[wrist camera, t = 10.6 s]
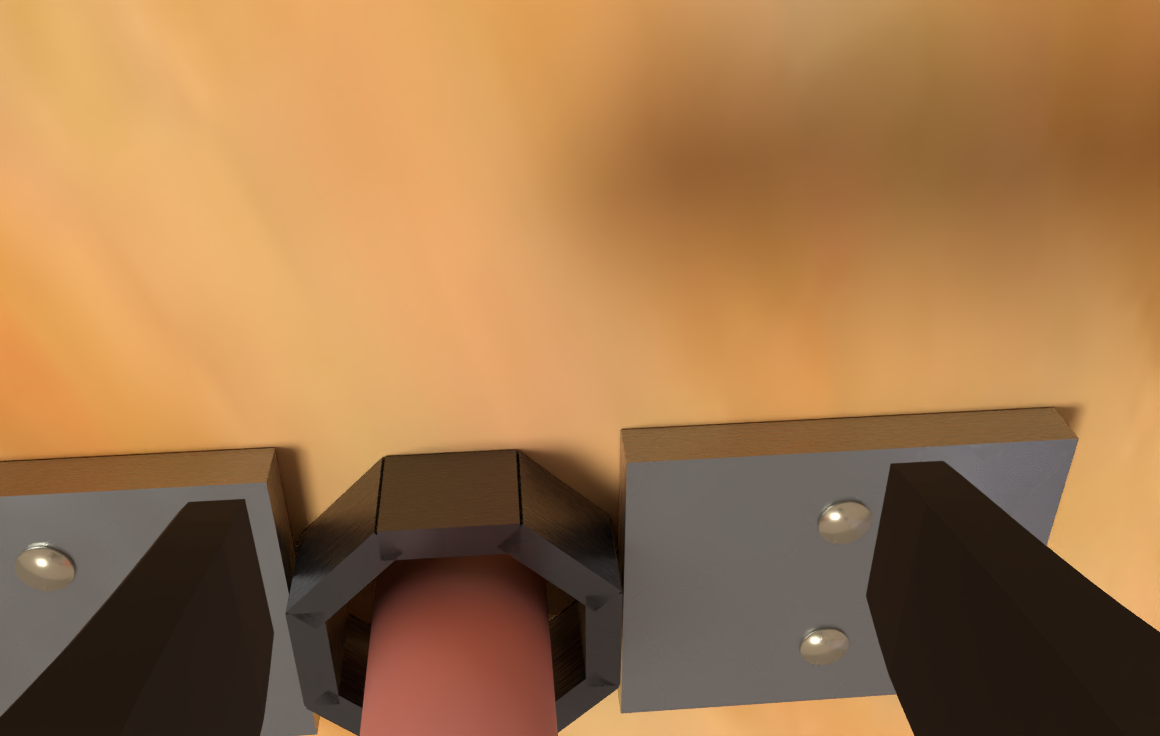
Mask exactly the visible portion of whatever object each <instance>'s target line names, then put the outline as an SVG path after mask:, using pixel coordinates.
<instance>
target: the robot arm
mask: <svg viewBox="0 0 1160 736" xmlns="http://www.w3.org/2000/svg"><path fill="white" fill-rule="evenodd" d="M866 598H867V602H868V605H869V609H870V613H871V616H872V620H873V624H874V627H875V631H876V635H877V638H878V642H879V645H880V648H881V651H882V655H883V658H884V661H885V665H886V668H887V671H888V674H889V677H890V680H891V682H892V684H893V687H894V689H895V692H896V694H897V696H898V699H899V701H900V703H901V706H902V708H903V710H904V713H905V715H906V717H907V719H908V722H909V724H910V726H911V729H912V731H913V733H914V736H1160V632H1159V631H1157V630H1156V629H1155V628H1153V627H1152V626H1150V625H1149V624H1148V623H1146V622H1145V621H1143V620H1142V619H1141V618H1139V617H1138V616H1136V615H1135V614H1134V613H1132V612H1131V611H1129V610H1128V609H1127V608H1125V607H1124V606H1123V605H1121V604H1120V603H1119V602H1117V601H1116V600H1115V599H1113V598H1112V597H1111V596H1109V595H1108V594H1107V593H1105V592H1104V591H1103V590H1101V589H1100V588H1099V587H1097V586H1096V585H1095V584H1094V583H1092V582H1091V581H1090V580H1088V579H1087V578H1086V577H1085V576H1083V575H1082V574H1081V573H1080V572H1078V571H1077V570H1076V569H1074V568H1073V567H1072V566H1071V565H1069V564H1068V563H1067V562H1066V561H1064V560H1063V559H1062V558H1061V557H1059V556H1058V555H1057V554H1056V553H1054V552H1053V551H1052V550H1051V549H1050V548H1048V547H1047V546H1046V545H1045V544H1044V543H1042V542H1041V541H1040V540H1039V539H1037V538H1036V537H1035V536H1034V535H1033V534H1031V533H1030V532H1029V531H1028V530H1027V529H1025V528H1024V527H1023V526H1022V525H1021V524H1019V523H1018V522H1017V521H1016V520H1015V519H1013V518H1012V517H1011V516H1010V515H1009V514H1007V513H1006V512H1005V511H1004V510H1003V509H1001V508H1000V507H999V506H998V505H997V504H996V503H994V502H993V501H992V500H991V499H990V498H988V497H987V496H986V495H985V494H984V493H982V492H981V491H980V490H979V489H978V488H976V487H975V486H974V485H973V484H972V483H970V482H969V481H968V480H967V479H966V478H964V477H963V476H962V475H961V474H960V473H958V472H957V471H956V470H955V469H953V468H952V467H951V466H949V465H948V464H947V463H946V462H944V461H927V462H909V463H891V464H890V470H889V475H888V480H887V485H886V491H885V496H884V501H883V507H882V512H881V517H880V523H879V528H878V533H877V539H876V544H875V549H874V555H873V560H872V565H871V570H870V576H869V581H868V586H867V592H866ZM273 639H274V630H273V625H272V620H271V616H270V611H269V607H268V602H267V598H266V593H265V588H264V584H263V579H262V575H261V570H260V565H259V561H258V556H257V552H256V547H255V543H254V538H253V533H252V529H251V524H250V520H249V515H248V510H247V506H246V501H245V499H232V500H214V501H196V502H188V503H187V504H186V505H185V506H184V507H183V508H182V509H181V510H180V511H179V512H178V513H177V515H176V516H175V517H174V518H173V519H172V521H171V522H170V523H169V524H168V526H167V527H166V528H165V529H164V531H163V532H162V533H161V534H160V536H159V537H158V538H157V539H156V541H155V542H154V543H153V544H152V546H151V547H150V548H149V549H148V551H147V552H146V553H145V554H144V555H143V557H142V558H141V559H140V560H139V562H138V563H137V564H136V565H135V567H134V568H133V569H132V570H131V571H130V573H129V574H128V575H127V576H126V578H125V579H124V580H123V581H122V582H121V584H120V585H119V586H118V587H117V588H116V590H115V591H114V592H113V593H112V594H111V596H110V597H109V598H108V599H107V600H106V601H105V603H104V604H103V605H102V606H101V607H100V608H99V610H98V611H97V612H96V613H95V614H94V615H93V616H92V618H91V619H90V620H89V621H88V622H87V623H86V625H85V626H84V627H83V628H82V629H81V630H80V632H79V633H78V634H77V635H76V636H75V637H74V638H73V640H72V641H71V642H70V643H69V644H68V645H67V646H66V648H65V649H64V650H63V651H62V652H61V653H60V654H59V655H58V656H57V657H56V659H55V660H54V661H53V662H52V663H51V664H50V665H49V666H48V667H47V668H46V669H45V670H44V671H43V672H42V673H41V674H40V675H39V676H38V677H37V679H36V680H35V681H34V682H33V683H32V684H31V685H30V686H29V687H28V688H27V689H26V690H25V691H24V692H23V693H22V694H21V695H20V696H19V697H18V699H17V700H16V701H15V702H14V703H13V704H12V705H11V706H10V707H9V708H8V709H7V710H6V711H5V712H4V713H3V714H2V715H1V716H0V736H260V734H261V730H262V725H263V721H264V716H265V708H266V700H267V692H268V684H269V676H270V667H271V657H272V648H273Z"/></svg>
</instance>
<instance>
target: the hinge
mask: <svg viewBox="0 0 1160 736" xmlns="http://www.w3.org/2000/svg"><path fill="white" fill-rule="evenodd" d="M1077 442H1078V437H1077V436H1076V435H1075V433H1074V432H1073V431H1072V430H1071V428H1070V427H1069V426H1068V424H1067V423H1066V422H1065V421H1064V419H1063V418H1062V417H1061V415H1060V414H1059V413H1058V412H1057V410H1056V409H1055V408H1037V409H1017V410H998V411H979V412H959V413H940V414H921V415H901V416H882V417H863V418H843V419H824V420H805V421H785V422H766V423H747V424H727V425H708V426H689V427H669V428H650V429H631V430H621V436H620V486H619V536H618V562H617V556H616V550H615V543H614V537H613V531H612V525H611V519H610V517H609V515H607V514H606V513H605V512H603V511H602V510H600V509H599V508H598V507H596V506H595V505H594V504H592V503H591V502H589V501H588V500H587V499H585V498H584V497H582V496H581V495H580V494H578V493H577V492H576V491H574V490H573V489H571V488H570V487H569V486H567V485H566V484H564V483H563V482H562V481H560V480H559V479H557V478H556V477H555V476H553V475H552V474H551V473H549V472H548V471H546V470H545V469H544V468H542V467H541V466H539V465H538V464H537V463H535V462H534V461H533V460H531V459H530V458H528V457H527V456H526V455H524V454H523V453H521V452H520V451H518V452H517V453H516V450H505V451H486V452H467V453H448V454H429V455H410V456H391V457H385V460H384V459H383V458H382V459H380V460H379V461H378V462H377V463H376V464H375V465H374V466H373V467H372V468H371V469H370V470H369V471H368V472H367V473H366V474H364V475H363V476H362V477H361V478H360V479H359V480H358V481H357V482H356V483H355V484H354V485H353V486H352V487H351V488H349V489H348V490H347V491H346V492H345V493H344V494H343V495H342V496H341V497H340V498H339V499H338V500H337V501H336V502H335V503H333V504H332V505H331V506H330V507H329V508H328V509H327V510H326V511H325V512H324V513H323V514H322V515H321V516H320V517H318V518H317V519H316V520H315V521H314V522H313V523H312V524H311V525H310V526H309V527H308V528H307V529H306V530H305V531H304V532H302V533H301V537H300V542H299V547H298V552H297V557H296V555H295V550H294V544H293V539H292V534H291V529H290V524H289V519H288V513H287V508H286V503H285V498H284V493H283V487H282V482H281V477H280V472H279V467H278V462H277V456H276V451H275V448H264V449H244V450H225V451H206V452H186V453H167V454H148V455H128V456H109V457H90V458H70V459H51V460H32V461H12V462H0V716H1V715H2V714H3V713H4V712H5V711H6V710H7V709H8V708H9V707H10V706H11V705H12V704H13V703H14V702H15V701H16V700H17V699H18V697H19V696H20V695H21V694H22V693H23V692H24V691H25V690H26V689H27V688H28V687H29V686H30V685H31V684H32V683H33V682H34V681H35V680H36V679H37V677H38V676H39V675H40V674H41V673H42V672H43V671H44V670H45V669H46V668H47V667H48V666H49V665H50V664H51V663H52V662H53V661H54V660H55V659H56V657H57V656H58V655H59V654H60V653H61V652H62V651H63V650H64V649H65V648H66V646H67V645H68V644H69V643H70V642H71V641H72V640H73V638H74V637H75V636H76V635H77V634H78V633H79V632H80V630H81V629H82V628H83V627H84V626H85V625H86V623H87V622H88V621H89V620H90V619H91V618H92V616H93V615H94V614H95V613H96V612H97V611H98V610H99V608H100V607H101V606H102V605H103V604H104V603H105V601H106V600H107V599H108V598H109V597H110V596H111V594H112V593H113V592H114V591H115V590H116V588H117V587H118V586H119V585H120V584H121V582H122V581H123V580H124V579H125V578H126V576H127V575H128V574H129V573H130V571H131V570H132V569H133V568H134V567H135V565H136V564H137V563H138V562H139V560H140V559H141V558H142V557H143V555H144V554H145V553H146V552H147V551H148V549H149V548H150V547H151V546H152V544H153V543H154V542H155V541H156V539H157V538H158V537H159V536H160V534H161V533H162V532H163V531H164V529H165V528H166V527H167V526H168V524H169V523H170V522H171V521H172V519H173V518H174V517H175V516H176V515H177V513H178V512H179V511H180V510H181V509H182V508H183V507H184V506H185V505H186V504H187V503H188V502H196V501H214V500H232V499H245V501H246V506H247V510H248V515H249V520H250V524H251V529H252V533H253V538H254V543H255V547H256V552H257V556H258V561H259V565H260V570H261V575H262V579H263V584H264V588H265V593H266V598H267V602H268V607H269V611H270V616H271V620H272V625H273V630H274V639H273V648H272V657H271V667H270V676H269V684H268V692H267V700H266V708H265V716H264V721H263V725H262V730H261V734H260V736H300V735H314V734H317V733H318V726H319V719H320V716H321V717H323V718H325V719H327V720H329V721H331V722H333V723H335V724H337V725H339V726H340V727H342V728H344V729H346V730H348V731H350V732H352V733H354V734H356V735H358V736H360V728H361V719H362V709H363V700H364V690H365V681H366V671H367V662H368V652H369V643H370V633H371V627H369V626H368V625H366V624H364V623H362V622H361V621H359V620H357V619H356V618H354V617H352V616H350V615H349V612H348V606H347V602H348V601H349V600H351V599H352V598H353V597H354V596H355V595H356V594H357V593H358V592H360V591H361V590H362V589H363V588H364V587H365V586H366V585H368V584H369V583H370V582H371V581H372V580H373V579H374V578H375V577H377V576H378V575H379V574H380V573H381V572H382V571H383V570H385V569H386V568H387V567H388V566H389V565H390V564H391V563H393V562H394V561H395V560H408V559H425V558H442V557H459V556H475V555H492V554H509V555H510V556H512V557H513V558H515V559H516V560H518V561H519V562H521V563H522V564H524V565H525V566H527V567H528V568H530V569H531V570H533V571H534V572H536V573H537V574H539V575H540V576H542V577H543V578H545V579H546V580H548V581H549V582H551V583H552V584H554V585H555V586H557V587H558V588H560V589H561V590H563V591H564V592H566V593H567V594H569V595H570V596H572V597H574V598H575V599H577V601H576V602H575V603H573V604H572V605H571V606H570V607H568V608H567V609H566V610H565V611H563V612H562V613H561V614H560V615H558V616H557V617H556V618H555V619H553V620H552V621H551V622H550V623H549V628H550V641H551V654H552V667H553V679H554V692H555V705H556V717H557V730H558V732H560V731H561V730H562V729H564V728H565V727H566V726H568V725H569V724H570V723H572V722H573V721H575V720H576V719H577V718H579V717H580V716H581V715H583V714H584V713H585V712H587V711H588V710H589V709H591V708H592V707H593V706H595V705H596V704H597V703H599V702H600V701H601V700H603V699H604V698H605V697H607V696H608V695H610V694H611V693H612V692H614V691H615V690H616V689H618V696H619V704H620V711H621V713H633V712H648V711H662V710H677V709H691V708H706V707H720V706H735V705H749V704H764V703H778V702H793V701H807V700H822V699H836V698H850V697H865V696H879V695H894V694H896V692H895V689H894V687H893V684H892V682H891V680H890V677H889V674H888V671H887V668H886V665H885V661H884V658H883V655H882V651H881V648H880V645H879V642H878V638H877V635H876V631H875V627H874V624H873V620H872V616H871V613H870V609H869V605H868V602H867V598H866V592H867V586H868V581H869V576H870V570H871V565H872V560H873V555H874V549H875V544H876V539H877V533H878V528H879V523H880V517H881V512H882V507H883V501H884V496H885V491H886V485H887V480H888V475H889V470H890V464H891V463H909V462H927V461H944V462H946V463H947V464H948V465H949V466H951V467H952V468H953V469H955V470H956V471H957V472H958V473H960V474H961V475H962V476H963V477H964V478H966V479H967V480H968V481H969V482H970V483H972V484H973V485H974V486H975V487H976V488H978V489H979V490H980V491H981V492H982V493H984V494H985V495H986V496H987V497H988V498H990V499H991V500H992V501H993V502H994V503H996V504H997V505H998V506H999V507H1000V508H1001V509H1003V510H1004V511H1005V512H1006V513H1007V514H1009V515H1010V516H1011V517H1012V518H1013V519H1015V520H1016V521H1017V522H1018V523H1019V524H1021V525H1022V526H1023V527H1024V528H1025V529H1027V530H1028V531H1029V532H1030V533H1031V534H1033V535H1034V536H1035V537H1036V538H1037V539H1039V540H1040V541H1041V542H1042V543H1044V544H1045V545H1047V542H1048V539H1049V535H1050V532H1051V529H1052V525H1053V522H1054V519H1055V515H1056V512H1057V509H1058V505H1059V502H1060V499H1061V495H1062V492H1063V489H1064V485H1065V482H1066V479H1067V475H1068V472H1069V469H1070V465H1071V462H1072V459H1073V455H1074V452H1075V449H1076V445H1077Z"/></svg>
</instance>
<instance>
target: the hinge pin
mask: <svg viewBox="0 0 1160 736" xmlns="http://www.w3.org/2000/svg"><path fill="white" fill-rule="evenodd" d="M360 736H558V730H557V717H556V705H555V692H554V679H553V667H552V654H551V641H550V628H549V616H548V603H547V590H546V579H545V578H543V577H542V576H540V575H539V574H537V573H536V572H534V571H533V570H531V569H530V568H528V567H527V566H525V565H524V564H522V563H521V562H519V561H518V560H516V559H515V558H513V557H512V556H510V555H509V554H492V555H475V556H459V557H442V558H425V559H408V560H395V561H394V562H393V563H391V564H390V565H389V566H388V567H387V568H386V569H385V570H383V571H382V572H381V573H380V574H379V575H378V576H377V577H376V586H375V595H374V605H373V614H372V624H371V633H370V643H369V652H368V662H367V671H366V681H365V690H364V700H363V709H362V719H361V728H360Z"/></svg>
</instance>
